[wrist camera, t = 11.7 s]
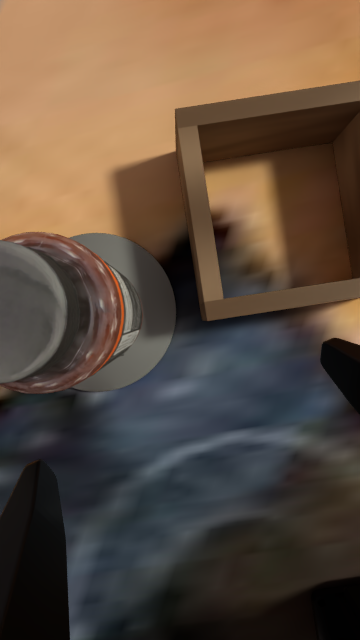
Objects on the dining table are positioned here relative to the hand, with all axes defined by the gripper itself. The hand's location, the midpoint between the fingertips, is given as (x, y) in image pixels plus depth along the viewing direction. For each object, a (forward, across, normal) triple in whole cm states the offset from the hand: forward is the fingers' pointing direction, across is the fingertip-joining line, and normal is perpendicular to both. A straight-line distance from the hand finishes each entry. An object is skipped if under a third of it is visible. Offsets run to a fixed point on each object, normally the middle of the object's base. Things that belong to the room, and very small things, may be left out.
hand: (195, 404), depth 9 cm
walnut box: (+11, -10, 0) cm, 15 cm away
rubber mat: (+12, +2, +3) cm, 13 cm away
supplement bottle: (+12, +2, +3) cm, 12 cm away
